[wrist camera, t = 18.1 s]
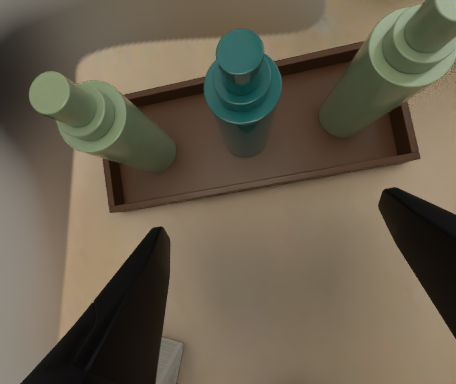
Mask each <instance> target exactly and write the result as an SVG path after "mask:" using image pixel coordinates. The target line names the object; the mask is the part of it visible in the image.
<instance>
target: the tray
mask: <svg viewBox="0 0 456 384" xmlns="http://www.w3.org/2000/svg"><path fill="white" fill-rule="evenodd" d="M364 42H365V41H363V42H359V43H354V44H350V45H345V46H341V47H336V48H332V49H327V50H323V51H318V52H314V53H309V54H305V55H300V56H296V57H291V58H287V59H282V60H278V61H274V63H275V64H276V66H277V67H278V69H279V71H280V74H281V79H282V91H281V95H280V99H279V103H278V106H277V110H276V114H275V118H274V121H273V125H272V129H271V132H270V136H269V140H268V143H267V145H266V147H265V148H264V149H263V150H262V151H261V152H260V153H259V154H257V155H255V156H252V157H239V156H236V155H234V154H232V153H231V152H230V151H229V150H228V149H227V148H226V146H225V144H224V142H223V139H222V137H221V135H220V132H219V130H218V128H217V125H216V123H215V121H214V119H213V116H212V114H211V112H210V109H209V107H208V105H207V102H206V100H205V96H204V81H205V77H201V78H197V79H192V80H188V81H184V82H179V83H175V84H170V85H166V86H161V87H157V88H152V89H148V90H143V91H139V92H134V93H130V94H125V95H124V96H125V97H126V98H127V99H129V100H130V101H131V102H132V103H133V104H134V105H135V106H137V107H138V108H139V109H140V110H141V111H142V112H144V113H145V114H146V115H147V116H148V117H149V118H151V119H152V120H153V121H154V122H155V123H156V124H158V125H159V126H160V127H161V128H162V129H163V130H165V131H166V132H167V133H168V134H169V135H170V136H171V137H172V138H173V140H174V142H175V145H176V156H175V159H174V161H173V163H172V164H171V166H170V167H169V168H167V169H166V170H164V171H163V172H160V173H148V172H145V171H142V170H138V169H135V168H132V167H129V166H126V165H122V164H119V163H116V162H113V161H109V160H106V159H103V165H104V173H105V181H106V188H107V196H108V204H109V211H110V213H115V212H126V211H132V210H138V209H143V208H149V207H155V206H161V205H166V204H172V203H178V202H183V201H189V200H195V199H201V198H206V197H212V196H218V195H224V194H229V193H235V192H241V191H247V190H252V189H258V188H264V187H270V186H275V185H281V184H287V183H292V182H298V181H304V180H310V179H315V178H321V177H327V176H333V175H338V174H344V173H350V172H356V171H361V170H367V169H373V168H378V167H384V166H390V165H396V164H401V163H406V162H409V161H413V160H417V159H420V154H419V152H418V151H419V150H418V145H417V141H416V137H415V132H414V128H413V124H412V119H411V115H410V111H409V107H408V102H407V101H406V102H404V103H403V104H401V105H400V106H398V107H397V108H395V109H394V110H392V111H391V112H389V113H388V114H386V115H385V116H383V117H382V118H380V119H379V120H377V121H376V122H374V123H373V124H371V125H370V126H368V127H367V128H365V129H364V130H362V131H361V132H359V133H358V134H356V135H354V136H351V137H346V138H341V137H336V136H333V135H331V134H329V133H328V132H327V131H326V130H325V129H324V128H323V127H322V125H321V123H320V120H319V109H320V106H321V104H322V102H323V101H324V99H325V98H326V96H327V95H328V93H329V92H330V91H331V89H332V88H333V86H334V85H335V83H336V82H337V80H338V79H339V78H340V76H341V75H342V73H343V72H344V70H345V69H346V68H347V66H348V65H349V63H350V62H351V60H352V59H353V58H354V56H355V55H356V53H357V52H358V50H359V49H360V47H361V46H362V45H363V43H364Z"/></svg>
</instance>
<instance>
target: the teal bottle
mask: <svg viewBox="0 0 456 384" xmlns="http://www.w3.org/2000/svg"><path fill="white" fill-rule="evenodd" d="M281 91H282V79H281V74H280V71H279V69H278V67H277V66H276V64H275V63H274V61H273V60H272V59H271V58H270V57H268V56H267V55H266V54H264V46H263V43H262V41H261V39H260V38H259V36H258V35H257V34H255V33H254V32H252V31H250V30H247V29H236V30H233V31H230V32H228V33H227V34H226V35H224V36H223V37H222V38H221V40H220V41H219V43H218V46H217V49H216V61H215V62H214V63H213V64H212V65H211V67H210V68H209V70H208V72H207V74H206V77H205V81H204V96H205V100H206V102H207V105H208V107H209V109H210V112H211V114H212V116H213V119H214V121H215V123H216V125H217V128H218V130H219V132H220V135H221V137H222V139H223V142H224V144H225V146H226V148H227V149H228V150H229V151H230V152H231V153H232V154H234V155H236V156H239V157H252V156H255V155H257V154H259V153H260V152H261V151H262V150H263V149H264V148H265V147H266V145H267V143H268V140H269V136H270V132H271V129H272V125H273V121H274V118H275V114H276V110H277V106H278V103H279V99H280V95H281Z"/></svg>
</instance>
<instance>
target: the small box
mask: <svg viewBox="0 0 456 384" xmlns="http://www.w3.org/2000/svg"><path fill="white" fill-rule="evenodd" d="M183 345H184V344H183V343H182V342H178V341H175V340H171V339H167V338H163V337H162V339H161V346H160V354H159V361H158V369H157V377H156V384H176V382H177V377H178V372H179V367H180V362H181V356H182V351H183Z"/></svg>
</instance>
